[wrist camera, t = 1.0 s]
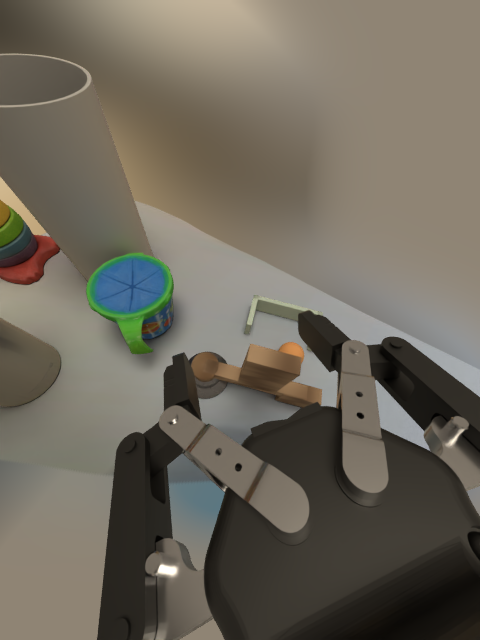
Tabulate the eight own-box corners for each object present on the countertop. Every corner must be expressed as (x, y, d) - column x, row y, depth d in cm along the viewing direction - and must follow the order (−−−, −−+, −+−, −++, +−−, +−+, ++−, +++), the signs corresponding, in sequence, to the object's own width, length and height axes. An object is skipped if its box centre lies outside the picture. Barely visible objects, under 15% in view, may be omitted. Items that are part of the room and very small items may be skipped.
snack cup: (126, 283, 40) (100, 239, 31) (184, 282, 41) (175, 240, 32) (108, 366, 33) (68, 339, 24) (180, 362, 34) (167, 336, 25)
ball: (273, 367, 35) (280, 359, 32) (277, 344, 37) (283, 335, 33) (297, 373, 35) (306, 366, 31) (300, 350, 37) (309, 342, 33)
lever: (191, 382, 32) (176, 351, 20) (199, 360, 34) (189, 319, 22) (306, 414, 32) (362, 401, 20) (309, 390, 34) (361, 364, 22)
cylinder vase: (72, 262, 41) (-93, 61, 19) (133, 234, 46) (57, 49, 24) (106, 305, 37) (-50, 120, 15) (168, 270, 42) (116, 91, 20)
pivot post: (176, 391, 32) (173, 387, 29) (192, 348, 35) (190, 341, 33) (222, 404, 32) (222, 401, 29) (234, 359, 35) (235, 353, 33)
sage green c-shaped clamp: (244, 333, 37) (246, 324, 34) (251, 305, 40) (254, 294, 37) (311, 351, 37) (320, 343, 34) (314, 322, 40) (322, 312, 37)
